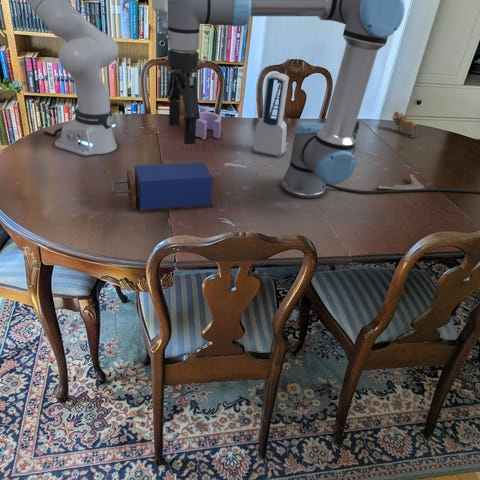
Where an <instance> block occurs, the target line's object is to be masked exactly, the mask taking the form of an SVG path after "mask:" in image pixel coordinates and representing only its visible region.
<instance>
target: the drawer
mask: <svg viewBox="0 0 480 480" xmlns="http://www.w3.org/2000/svg"><path fill="white" fill-rule="evenodd" d="M119 184H127V189H125V190H117V189H116V185H119ZM108 186H109V189H110V194H111V195H112V196H116V195H117V194H119V195H120V194H127V196H128V199H129V203H130V207H131V209H132V210H133V209H134V210H135V209H136V210H137V198H136V189H135V177H134V175H133V172H132V169H126V180H113V179H110V180H108ZM137 194H138V198H139V201H140V187H139V180H138V177H137Z"/></svg>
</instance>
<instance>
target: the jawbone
mask: <svg viewBox="0 0 480 480" xmlns="http://www.w3.org/2000/svg"><path fill="white" fill-rule="evenodd" d="M409 179H410V184H409V183H408V184H393V186H388V185H386V186H385V185H380V184H378V185H377V186H376V188H377V189H378V190H400V189H426V187H425V185H424V184H422V183H421V182H419V181H418V179H417V177H415V176H414V174H413V173H410V174H409Z"/></svg>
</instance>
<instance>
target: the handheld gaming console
mask: <svg viewBox="0 0 480 480" xmlns="http://www.w3.org/2000/svg"><path fill="white" fill-rule="evenodd" d="M360 123H361V122H360V120H358V119H357V121H356V124H355V127H354V131H353V134H352V136H353V138H354V140H355V141H357V136H358V133H359V129H360Z"/></svg>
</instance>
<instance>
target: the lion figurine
mask: <svg viewBox="0 0 480 480" xmlns="http://www.w3.org/2000/svg"><path fill="white" fill-rule="evenodd" d="M392 121H393V122H394V123H395V125H396V126H397V129H396V130H395V132H396V133H399V132H400V131H401V130H402V128H405V129H409V135H410V138H414V137H415V136H416V135H417V136H416V137H417V138H419V137H420V136H419V135H418V134H417V129H418V128H417V123H416V122H415V121H414V120H409V119H408V118H406V115H404V114H403V113H402V112H401V111H395V112H394V113H393V116H392ZM400 129H401V130H400ZM398 130H400V131H398ZM411 133H412V134H411ZM412 135H413V136H412Z"/></svg>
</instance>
